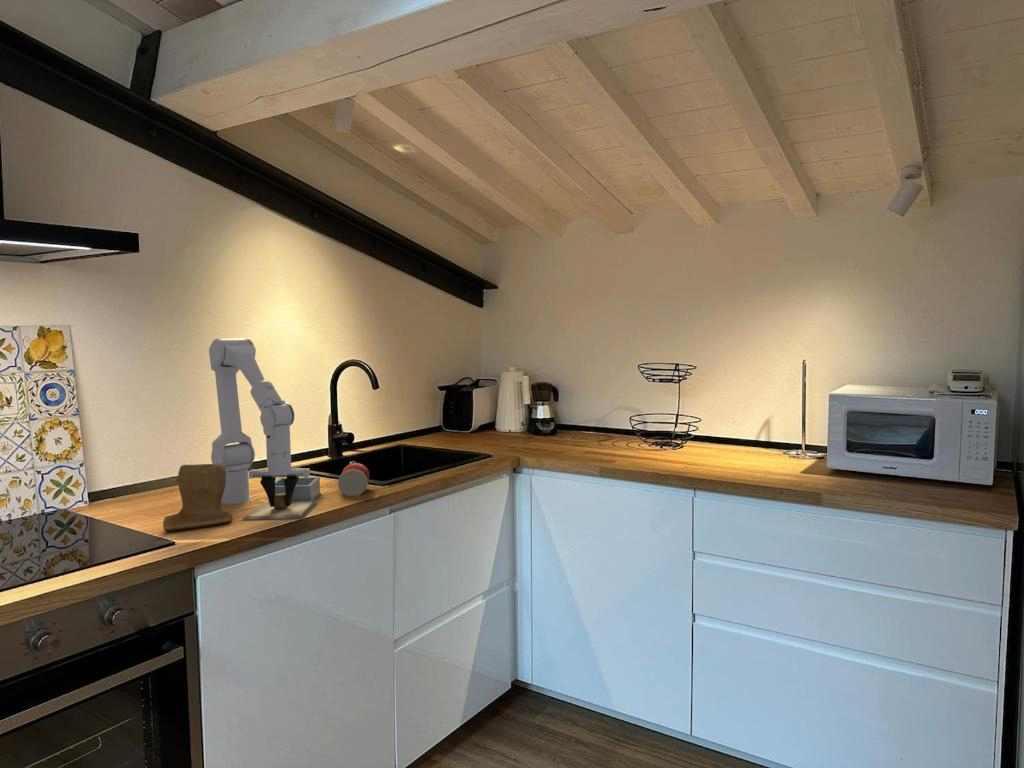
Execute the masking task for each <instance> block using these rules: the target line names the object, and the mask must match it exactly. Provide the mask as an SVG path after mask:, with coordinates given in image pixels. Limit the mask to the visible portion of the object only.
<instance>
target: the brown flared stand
mask: <svg viewBox="0 0 1024 768" xmlns="http://www.w3.org/2000/svg"><path fill="white" fill-rule="evenodd" d="M177 485H178V490H179V494H180V498H181V502H182V508H181V509H180V510H179V511H178V512H177V513H175V514H171V515H167V516H165V517H164V519H163V522H162V526H163V531H164V532H173V531H175V532H176V531H182V530H190V529H197V528H205V527H212V526H216V525H220V524H225V523H228V522H231V521H232V520H233V515H232V514H231V513H229V512H227V511H224V509H222V504H221V500H222V496H223V493H224V489H225V485H226V471H225V467H224V466H223V465H221V464H212V463H202V464H201V463H200V464H182V465H180V467H179V470H178V474H177Z"/></svg>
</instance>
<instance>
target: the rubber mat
mask: <svg viewBox="0 0 1024 768" xmlns="http://www.w3.org/2000/svg"><path fill="white" fill-rule="evenodd" d="M317 505H318V503H314V502H313V505H312V506H311V507H310V508H309V510H308V511H307V512H306V513H305V514H304V515H303V516H302V517H301V518H280V519H246V516H244V517H243V518H242V519H241V520H240V521H241V522H243V521H244V522H247V521H251V522H252V521H285V520H287V521H288V520H304V519H306V518H307V517H308V516H309V514H310V513H311V512H312V511H313V510H314V509H315V508H316V506H317Z"/></svg>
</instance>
